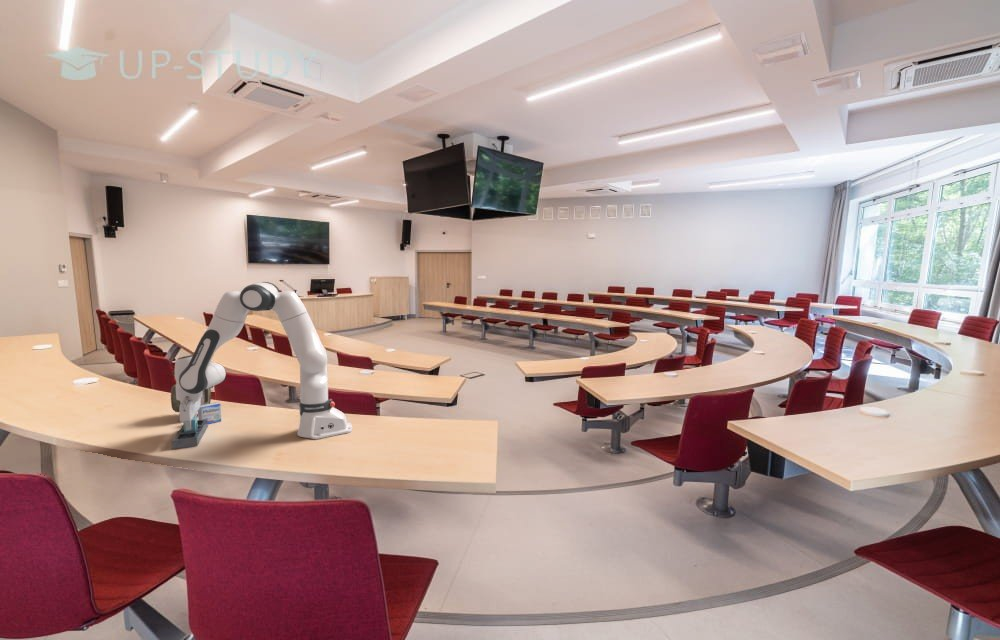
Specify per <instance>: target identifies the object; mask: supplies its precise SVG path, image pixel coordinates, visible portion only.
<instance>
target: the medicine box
mask: <svg viewBox="0 0 1000 640" xmlns="http://www.w3.org/2000/svg"><path fill="white" fill-rule="evenodd" d="M204 419H208V425H212V424H216V423H220V422H222V405H221V403H220V402H219V401H218V402H210V404H205V405H200V408H199V410H198V412H197V420H204Z"/></svg>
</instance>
